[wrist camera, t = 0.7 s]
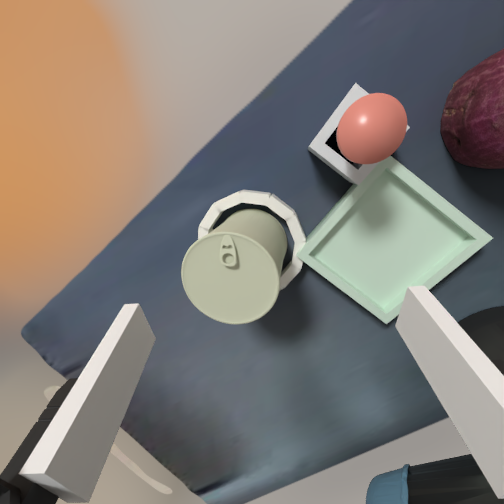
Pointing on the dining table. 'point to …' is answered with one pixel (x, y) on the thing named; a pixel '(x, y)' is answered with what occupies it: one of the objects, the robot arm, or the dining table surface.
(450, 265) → the tray
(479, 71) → the vegetable
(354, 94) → the button post
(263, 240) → the can
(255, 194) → the socket ring
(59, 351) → the dining table surface
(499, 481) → the robot arm
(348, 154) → the button
